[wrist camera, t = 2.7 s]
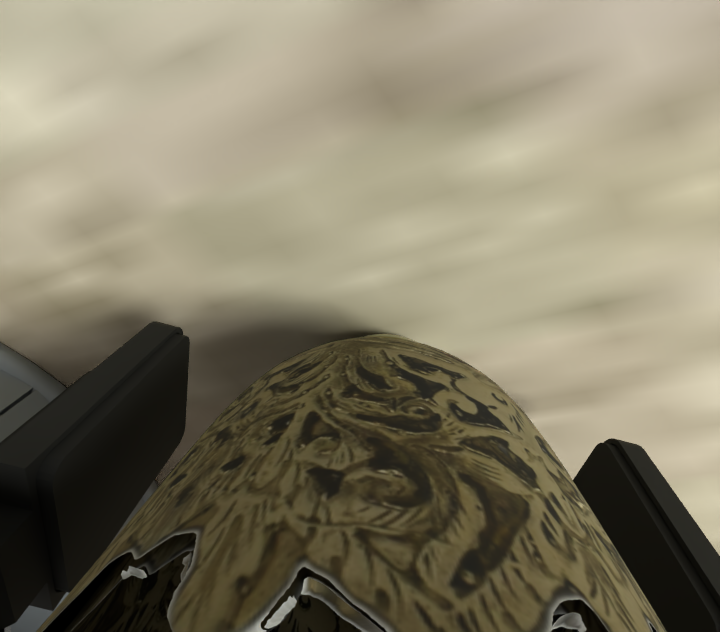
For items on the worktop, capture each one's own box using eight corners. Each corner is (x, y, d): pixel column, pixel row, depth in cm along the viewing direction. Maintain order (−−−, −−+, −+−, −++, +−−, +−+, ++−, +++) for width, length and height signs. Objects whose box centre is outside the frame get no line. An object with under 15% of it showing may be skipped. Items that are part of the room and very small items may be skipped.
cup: (334, 507, 13) (254, 954, 6) (195, 327, 11) (-205, 732, 4) (567, 436, 11) (848, 998, 4) (460, 191, 9) (704, 538, 2)
